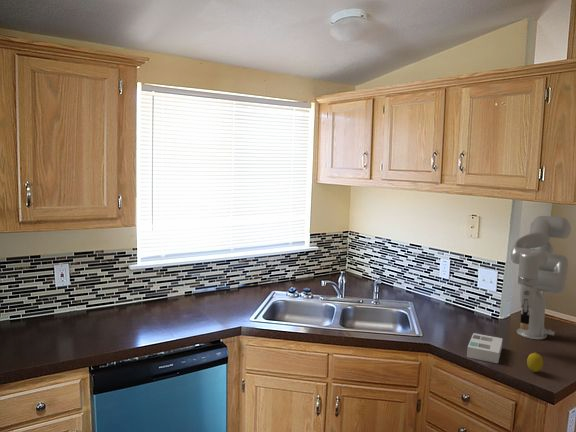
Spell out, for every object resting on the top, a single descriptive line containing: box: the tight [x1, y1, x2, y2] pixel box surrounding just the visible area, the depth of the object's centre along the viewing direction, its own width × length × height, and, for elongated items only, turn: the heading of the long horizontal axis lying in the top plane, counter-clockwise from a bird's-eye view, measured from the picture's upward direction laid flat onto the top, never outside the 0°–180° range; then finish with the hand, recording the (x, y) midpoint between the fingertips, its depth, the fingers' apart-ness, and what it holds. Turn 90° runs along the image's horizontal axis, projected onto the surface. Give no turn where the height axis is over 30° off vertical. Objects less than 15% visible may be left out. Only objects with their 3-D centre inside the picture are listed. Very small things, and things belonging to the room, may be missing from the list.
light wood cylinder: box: [519, 309, 530, 330], centre depth 198 cm, size 3×3×9 cm
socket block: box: [466, 332, 503, 364], centre depth 196 cm, size 12×18×5 cm, turn 151°
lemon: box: [526, 352, 544, 373], centre depth 178 cm, size 6×6×8 cm
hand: (524, 321), depth 198 cm, fingers closed on light wood cylinder, 3 cm apart
